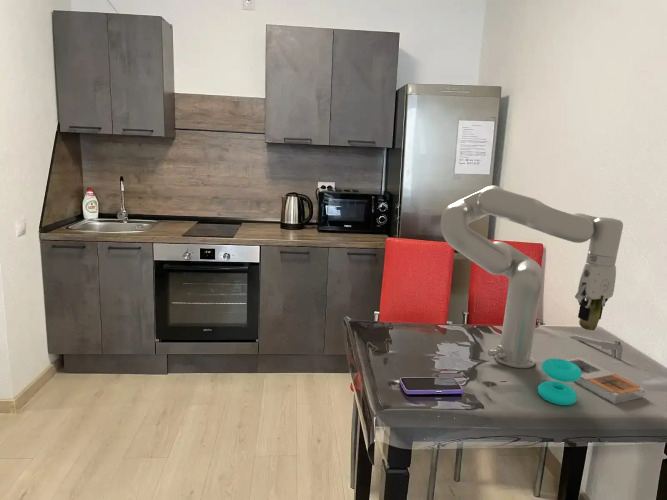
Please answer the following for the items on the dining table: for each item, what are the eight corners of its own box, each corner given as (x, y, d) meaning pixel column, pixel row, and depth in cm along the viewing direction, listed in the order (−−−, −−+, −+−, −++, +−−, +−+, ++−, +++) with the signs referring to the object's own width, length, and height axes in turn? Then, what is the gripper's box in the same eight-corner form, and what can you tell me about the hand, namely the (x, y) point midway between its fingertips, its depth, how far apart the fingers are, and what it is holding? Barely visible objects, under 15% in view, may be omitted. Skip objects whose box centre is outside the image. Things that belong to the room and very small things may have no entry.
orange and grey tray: (614, 403, 138) (615, 394, 138) (551, 368, 158) (552, 360, 157) (643, 397, 143) (645, 388, 143) (578, 364, 163) (580, 356, 162)
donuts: (534, 357, 141) (564, 355, 143) (529, 390, 143) (558, 387, 146) (560, 374, 131) (590, 371, 134) (553, 408, 133) (584, 405, 136)
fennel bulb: (598, 333, 149) (606, 295, 146) (581, 331, 150) (588, 292, 147) (593, 326, 154) (600, 289, 152) (575, 324, 155) (583, 287, 153)
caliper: (620, 360, 169) (624, 343, 167) (618, 360, 168) (622, 343, 167) (571, 337, 187) (574, 321, 185) (569, 337, 186) (572, 321, 185)
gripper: (591, 264, 141) (579, 325, 145) (632, 262, 147) (619, 320, 152) (569, 257, 147) (558, 316, 151) (609, 256, 154) (598, 312, 158)
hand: (589, 318), depth 151 cm, fingers closed on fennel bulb, 4 cm apart
